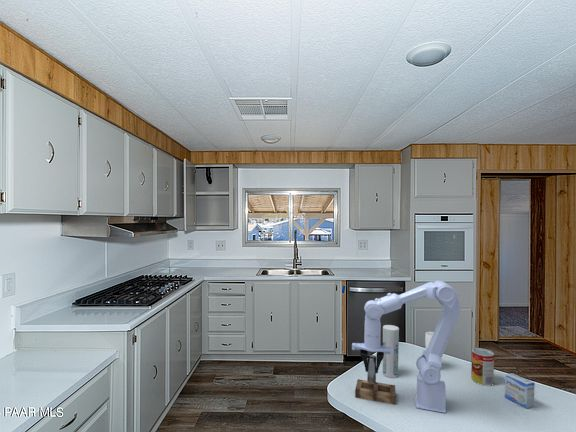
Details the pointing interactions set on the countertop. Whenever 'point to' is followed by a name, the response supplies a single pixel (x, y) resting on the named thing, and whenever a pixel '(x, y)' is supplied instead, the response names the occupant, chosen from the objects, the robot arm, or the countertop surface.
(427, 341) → the drinking glass
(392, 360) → the spray can
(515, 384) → the medicine box
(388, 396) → the hole block
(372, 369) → the peg
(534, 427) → the countertop surface
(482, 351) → the canned food
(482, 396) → the countertop surface
